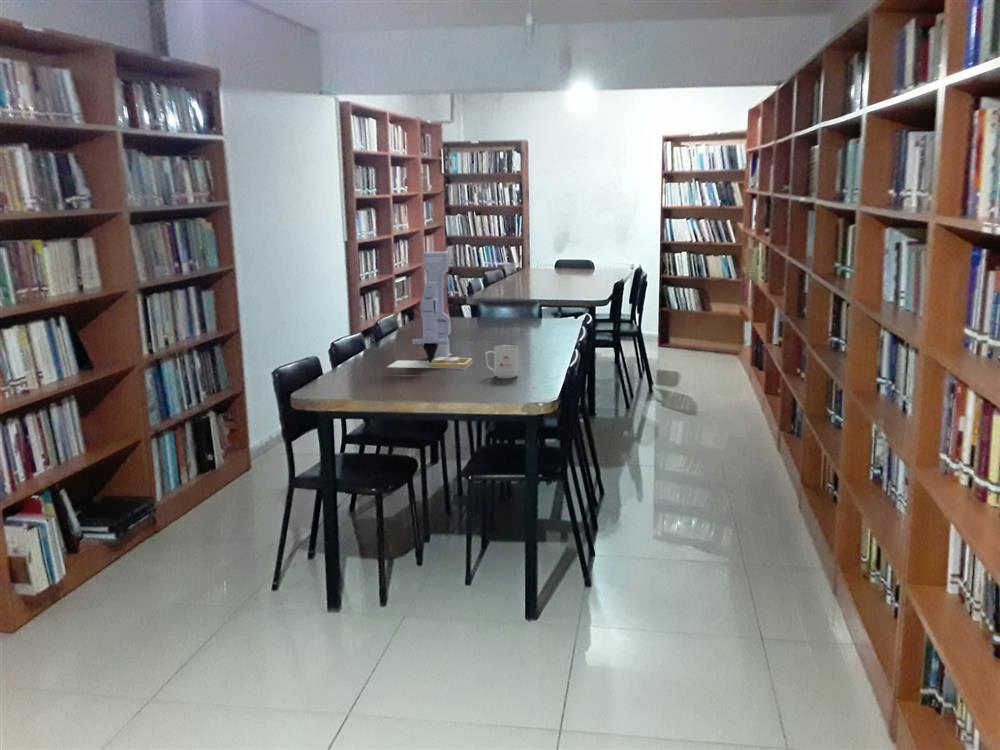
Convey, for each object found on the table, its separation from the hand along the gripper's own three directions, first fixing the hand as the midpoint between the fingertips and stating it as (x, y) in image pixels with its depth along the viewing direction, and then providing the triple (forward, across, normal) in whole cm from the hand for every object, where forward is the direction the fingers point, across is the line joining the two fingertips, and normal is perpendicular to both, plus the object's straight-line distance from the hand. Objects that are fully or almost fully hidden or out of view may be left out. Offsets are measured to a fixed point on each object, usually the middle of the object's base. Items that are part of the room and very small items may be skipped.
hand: (431, 362), depth 352 cm
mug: (+2, +33, -18) cm, 37 cm away
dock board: (+1, 0, 0) cm, 1 cm away
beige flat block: (+1, +6, 0) cm, 6 cm away
